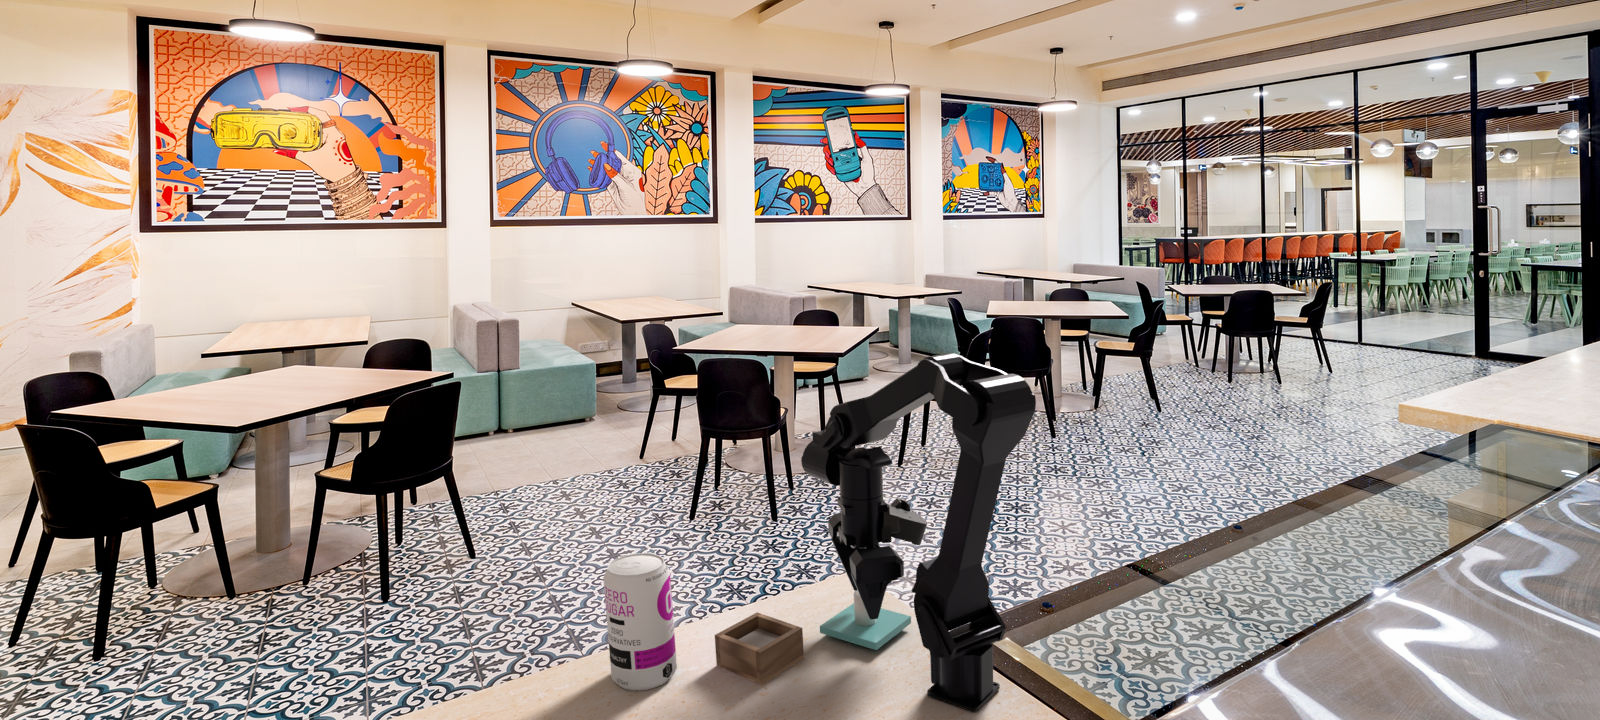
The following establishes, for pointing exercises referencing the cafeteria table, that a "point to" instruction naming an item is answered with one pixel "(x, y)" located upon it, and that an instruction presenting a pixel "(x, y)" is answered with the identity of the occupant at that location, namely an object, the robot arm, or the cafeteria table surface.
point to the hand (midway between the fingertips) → (865, 603)
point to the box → (759, 647)
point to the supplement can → (640, 621)
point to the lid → (865, 625)
